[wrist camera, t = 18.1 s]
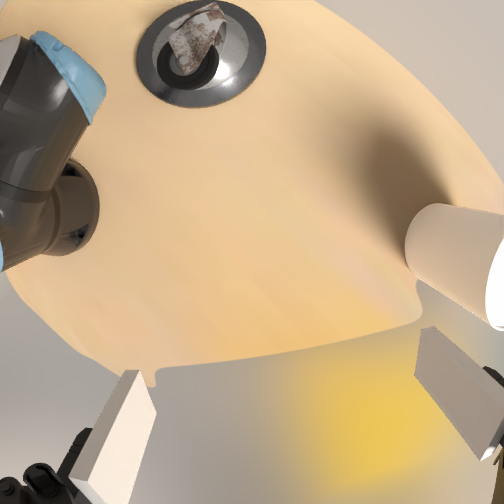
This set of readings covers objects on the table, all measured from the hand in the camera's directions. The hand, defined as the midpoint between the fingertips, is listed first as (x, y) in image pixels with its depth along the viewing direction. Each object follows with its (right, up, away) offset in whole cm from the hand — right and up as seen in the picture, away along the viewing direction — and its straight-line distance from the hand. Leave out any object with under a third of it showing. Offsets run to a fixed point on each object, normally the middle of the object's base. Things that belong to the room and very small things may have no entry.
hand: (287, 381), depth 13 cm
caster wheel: (-9, +33, +24) cm, 42 cm away
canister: (+29, +7, +32) cm, 44 cm away
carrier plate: (-9, +35, +24) cm, 44 cm away
